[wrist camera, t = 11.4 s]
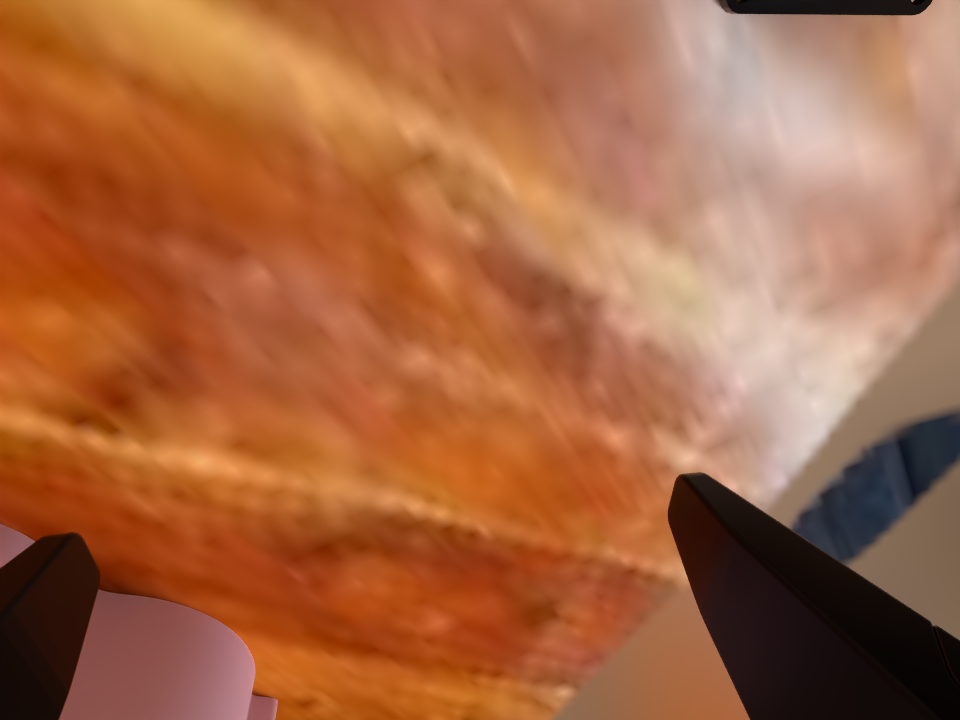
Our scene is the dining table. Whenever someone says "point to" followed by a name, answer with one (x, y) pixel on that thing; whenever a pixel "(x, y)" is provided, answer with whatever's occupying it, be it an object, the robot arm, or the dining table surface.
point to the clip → (156, 661)
